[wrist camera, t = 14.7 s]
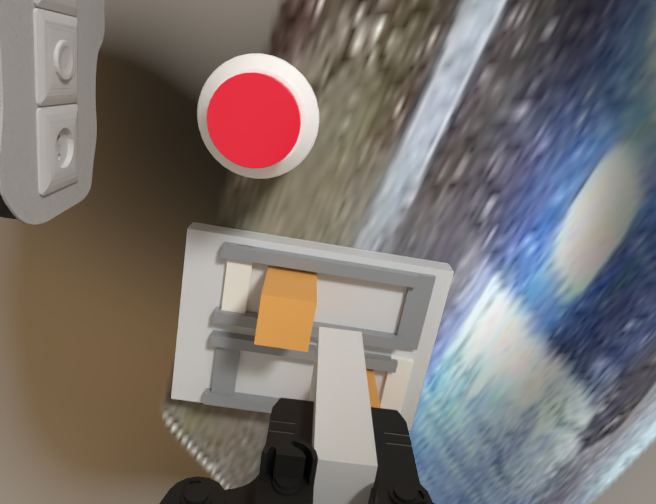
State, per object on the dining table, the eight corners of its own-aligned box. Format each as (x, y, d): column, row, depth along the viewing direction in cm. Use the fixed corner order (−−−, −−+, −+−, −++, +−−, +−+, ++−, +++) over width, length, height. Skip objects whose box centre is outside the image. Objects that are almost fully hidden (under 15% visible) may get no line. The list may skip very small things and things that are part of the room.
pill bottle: (324, 153, 42) (327, 178, 32) (229, 165, 42) (201, 195, 32) (311, 51, 39) (310, 42, 29) (210, 64, 40) (173, 60, 29)
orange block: (316, 273, 43) (316, 303, 37) (308, 316, 44) (307, 352, 38) (268, 265, 43) (261, 294, 37) (261, 309, 44) (253, 344, 38)
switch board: (447, 263, 45) (456, 275, 42) (407, 417, 50) (412, 438, 47) (193, 221, 43) (184, 231, 41) (176, 386, 48) (167, 405, 46)
